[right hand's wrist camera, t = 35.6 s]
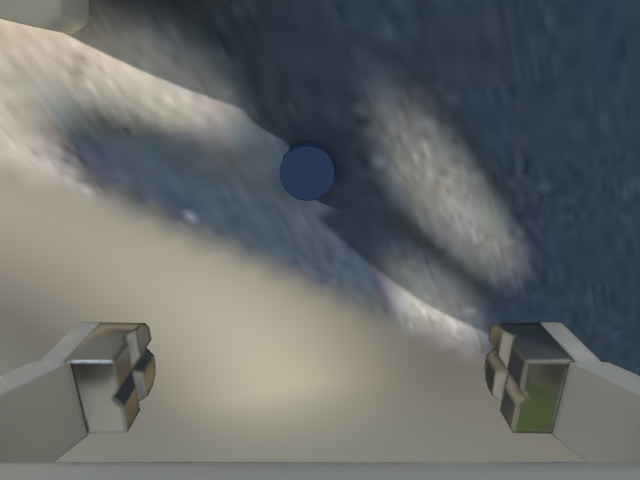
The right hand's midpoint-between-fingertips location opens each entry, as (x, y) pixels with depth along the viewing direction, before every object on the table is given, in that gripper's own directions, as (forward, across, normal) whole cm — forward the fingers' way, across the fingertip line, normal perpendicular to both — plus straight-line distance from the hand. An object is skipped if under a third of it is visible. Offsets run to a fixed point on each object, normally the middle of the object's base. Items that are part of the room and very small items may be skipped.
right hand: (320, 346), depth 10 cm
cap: (+22, +1, 0) cm, 22 cm away
